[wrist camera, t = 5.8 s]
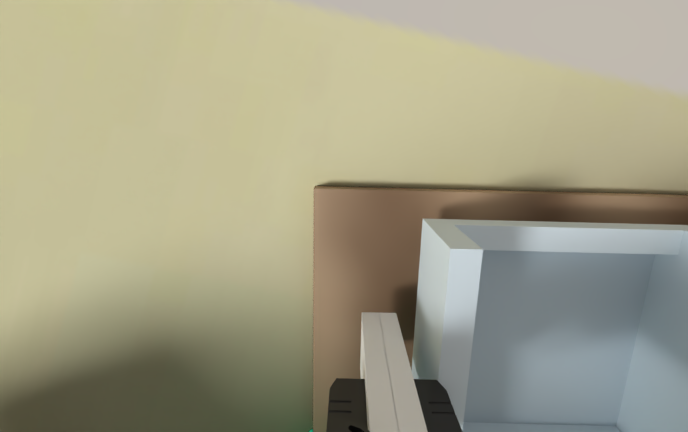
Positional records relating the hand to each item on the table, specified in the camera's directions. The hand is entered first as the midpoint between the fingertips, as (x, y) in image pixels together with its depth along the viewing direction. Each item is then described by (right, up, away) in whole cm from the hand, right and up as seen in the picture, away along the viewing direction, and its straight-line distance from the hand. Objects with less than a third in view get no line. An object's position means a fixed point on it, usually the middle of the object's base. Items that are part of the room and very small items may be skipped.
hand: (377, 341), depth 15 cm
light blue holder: (+7, 0, +1) cm, 7 cm away
